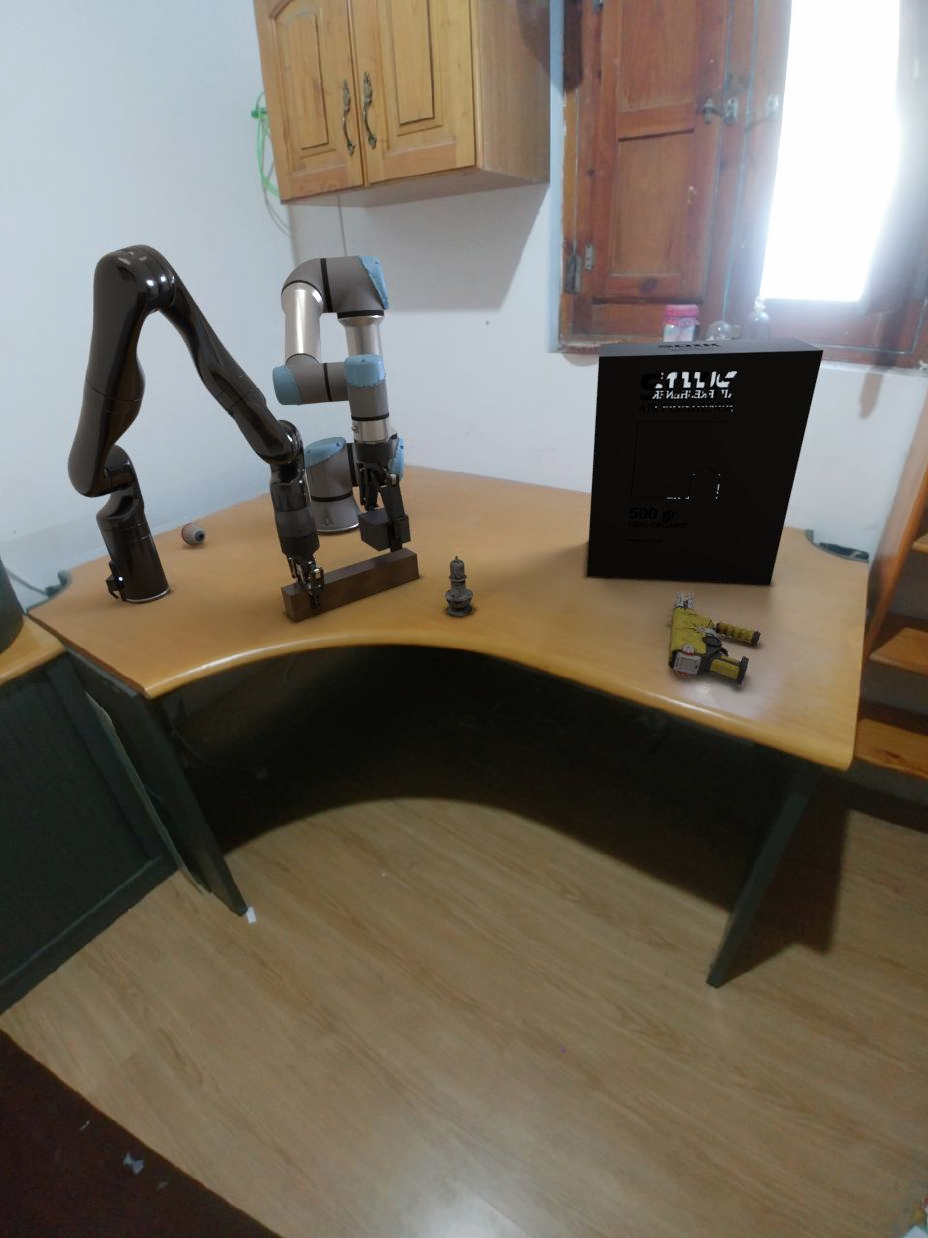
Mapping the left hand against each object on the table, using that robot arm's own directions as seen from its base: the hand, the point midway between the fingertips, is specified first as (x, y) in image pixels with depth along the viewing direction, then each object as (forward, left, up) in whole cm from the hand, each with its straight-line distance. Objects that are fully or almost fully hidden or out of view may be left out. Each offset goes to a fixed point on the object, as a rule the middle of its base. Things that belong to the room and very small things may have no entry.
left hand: (312, 603), depth 126 cm
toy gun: (+73, -29, -1) cm, 79 cm away
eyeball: (-35, +43, -1) cm, 56 cm away
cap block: (+16, +10, +9) cm, 21 cm away
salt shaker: (+30, -7, -1) cm, 31 cm away
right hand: (+16, +10, +8) cm, 21 cm away
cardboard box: (+81, +6, -1) cm, 81 cm away
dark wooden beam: (+9, +5, -1) cm, 10 cm away
